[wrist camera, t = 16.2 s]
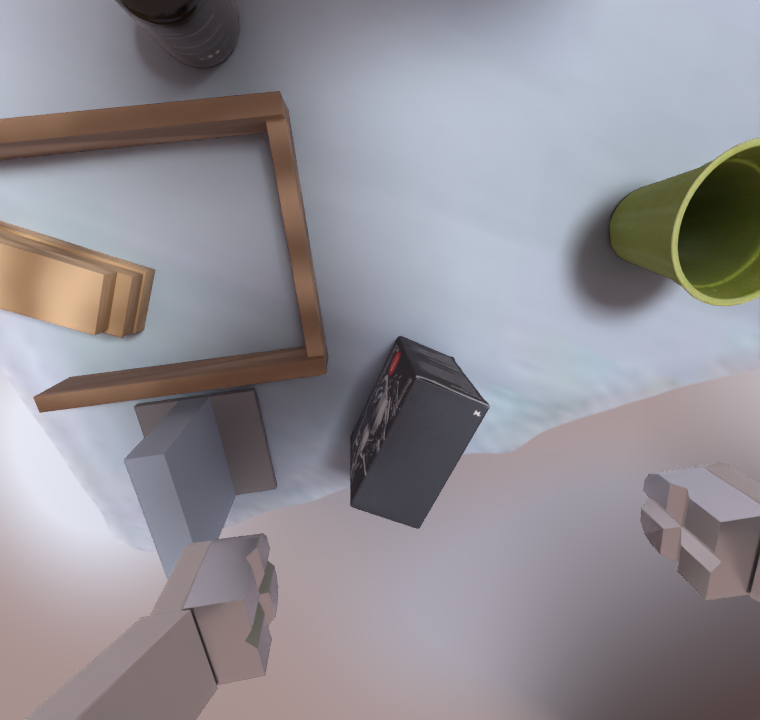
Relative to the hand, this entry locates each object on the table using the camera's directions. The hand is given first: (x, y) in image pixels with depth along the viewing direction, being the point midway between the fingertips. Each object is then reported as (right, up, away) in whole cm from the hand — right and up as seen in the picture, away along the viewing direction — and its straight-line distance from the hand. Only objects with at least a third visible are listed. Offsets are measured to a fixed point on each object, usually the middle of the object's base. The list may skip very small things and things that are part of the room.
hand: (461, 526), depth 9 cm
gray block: (-20, -6, +34) cm, 40 cm away
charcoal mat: (-20, -6, +35) cm, 41 cm away
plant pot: (+24, +17, +32) cm, 44 cm away
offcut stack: (-30, +11, +29) cm, 43 cm away
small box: (0, -1, +36) cm, 36 cm away
